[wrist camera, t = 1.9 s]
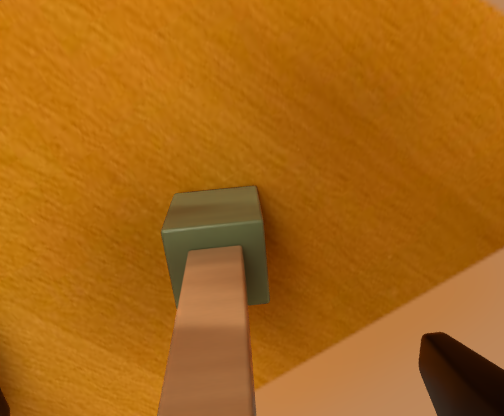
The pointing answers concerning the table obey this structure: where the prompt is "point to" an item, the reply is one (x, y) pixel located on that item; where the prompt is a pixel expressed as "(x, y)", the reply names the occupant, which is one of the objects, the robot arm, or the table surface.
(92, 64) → the table surface
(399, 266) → the table surface
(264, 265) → the scrub brush
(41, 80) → the table surface
